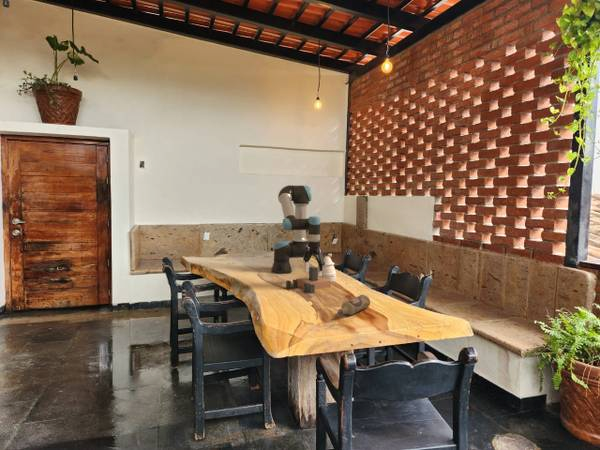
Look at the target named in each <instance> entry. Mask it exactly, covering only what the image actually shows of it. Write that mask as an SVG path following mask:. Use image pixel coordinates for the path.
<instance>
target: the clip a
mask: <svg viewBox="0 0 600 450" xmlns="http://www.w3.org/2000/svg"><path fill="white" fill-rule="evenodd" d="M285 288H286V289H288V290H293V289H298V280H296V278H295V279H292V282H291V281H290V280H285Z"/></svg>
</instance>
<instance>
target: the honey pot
mask: <svg viewBox="0 0 600 450" xmlns="http://www.w3.org/2000/svg"><path fill="white" fill-rule="evenodd" d="M332 256H333V254H332V253H328V254H327V255H325V256H323V259H324V262H325V265H323V266H322V276H318V277H321V278H324V279H327V280H330V281H331V283H333V282H332V281H334V282H336V281H337V271H336V269H335V266H334V265H335V262H333V261H332V258H331V257H332ZM335 280H336V281H335Z"/></svg>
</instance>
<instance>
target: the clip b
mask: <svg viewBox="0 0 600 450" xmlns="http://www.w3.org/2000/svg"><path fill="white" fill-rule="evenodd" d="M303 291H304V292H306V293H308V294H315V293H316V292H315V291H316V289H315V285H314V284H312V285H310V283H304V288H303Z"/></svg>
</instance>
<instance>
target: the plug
mask: <svg viewBox="0 0 600 450" xmlns="http://www.w3.org/2000/svg"><path fill="white" fill-rule="evenodd" d="M308 277H309V280H310V281H317V280H318V266H309V272H308Z"/></svg>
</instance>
